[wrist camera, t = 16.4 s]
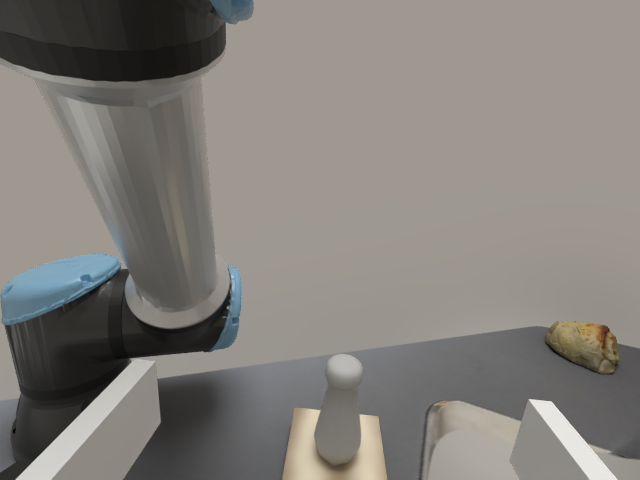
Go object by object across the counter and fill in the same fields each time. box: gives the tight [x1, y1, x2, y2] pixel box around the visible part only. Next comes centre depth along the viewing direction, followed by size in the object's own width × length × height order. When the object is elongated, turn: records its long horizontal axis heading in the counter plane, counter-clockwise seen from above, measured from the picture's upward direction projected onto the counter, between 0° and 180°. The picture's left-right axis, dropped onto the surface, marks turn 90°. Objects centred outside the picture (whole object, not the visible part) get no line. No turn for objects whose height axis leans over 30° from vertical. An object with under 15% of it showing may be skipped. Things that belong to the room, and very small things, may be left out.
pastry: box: [546, 321, 619, 375], centre depth 68 cm, size 14×12×8 cm
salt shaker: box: [314, 354, 363, 466], centre depth 38 cm, size 6×6×13 cm
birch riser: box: [282, 408, 387, 480], centre depth 40 cm, size 12×12×3 cm
